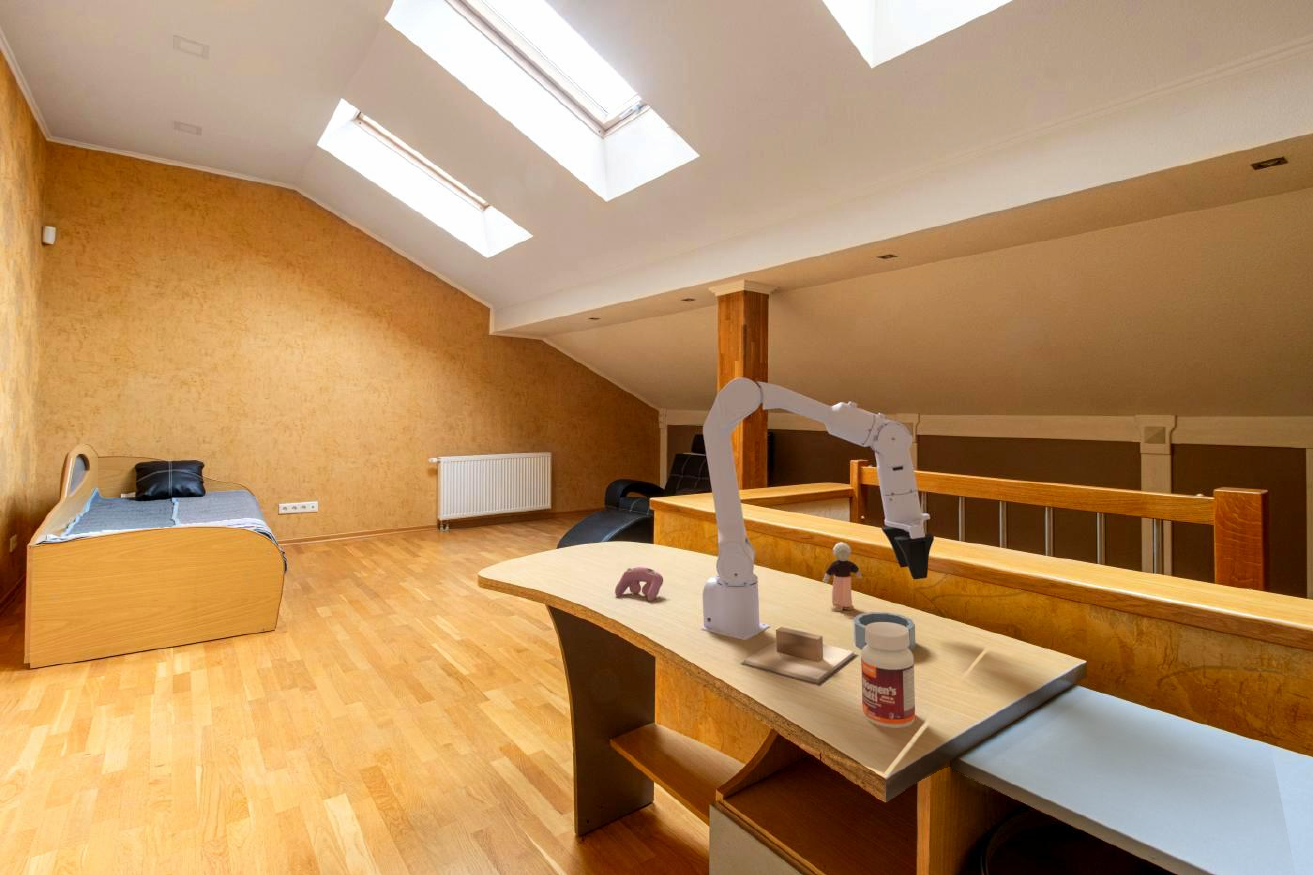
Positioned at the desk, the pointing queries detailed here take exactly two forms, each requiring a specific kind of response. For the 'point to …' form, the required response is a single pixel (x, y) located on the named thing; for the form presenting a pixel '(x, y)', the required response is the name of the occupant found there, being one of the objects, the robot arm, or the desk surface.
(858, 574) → the grandmother figurine
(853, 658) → the mat
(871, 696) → the pill bottle
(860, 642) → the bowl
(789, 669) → the lid
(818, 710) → the desk surface
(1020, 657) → the desk surface
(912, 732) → the desk surface
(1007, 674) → the desk surface
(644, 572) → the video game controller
